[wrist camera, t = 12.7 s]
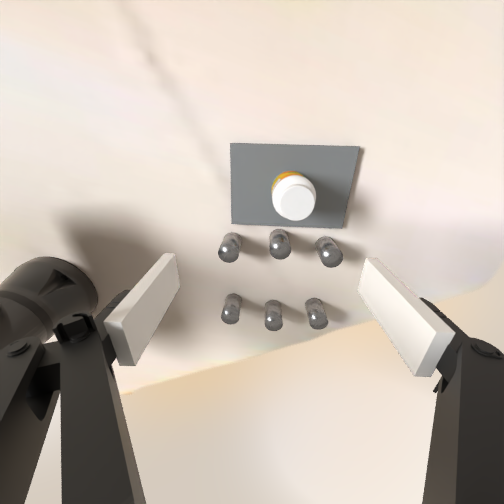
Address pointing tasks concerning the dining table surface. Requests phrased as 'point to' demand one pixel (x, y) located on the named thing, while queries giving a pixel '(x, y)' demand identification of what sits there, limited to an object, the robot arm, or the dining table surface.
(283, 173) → the supplement bottle
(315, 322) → the spacer field
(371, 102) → the dining table surface
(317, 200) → the slate mat
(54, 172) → the dining table surface
